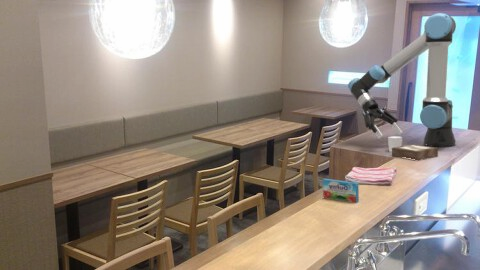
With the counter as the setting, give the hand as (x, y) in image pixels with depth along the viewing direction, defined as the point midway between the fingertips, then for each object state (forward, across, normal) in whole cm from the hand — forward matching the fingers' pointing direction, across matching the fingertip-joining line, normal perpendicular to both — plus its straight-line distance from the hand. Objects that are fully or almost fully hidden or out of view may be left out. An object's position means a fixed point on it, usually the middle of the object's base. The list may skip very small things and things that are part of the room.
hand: (390, 135), depth 227 cm
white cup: (+7, -1, -4) cm, 8 cm away
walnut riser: (+18, +3, +7) cm, 19 cm away
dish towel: (+29, +46, +18) cm, 58 cm away
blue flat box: (+40, +75, +29) cm, 90 cm away
